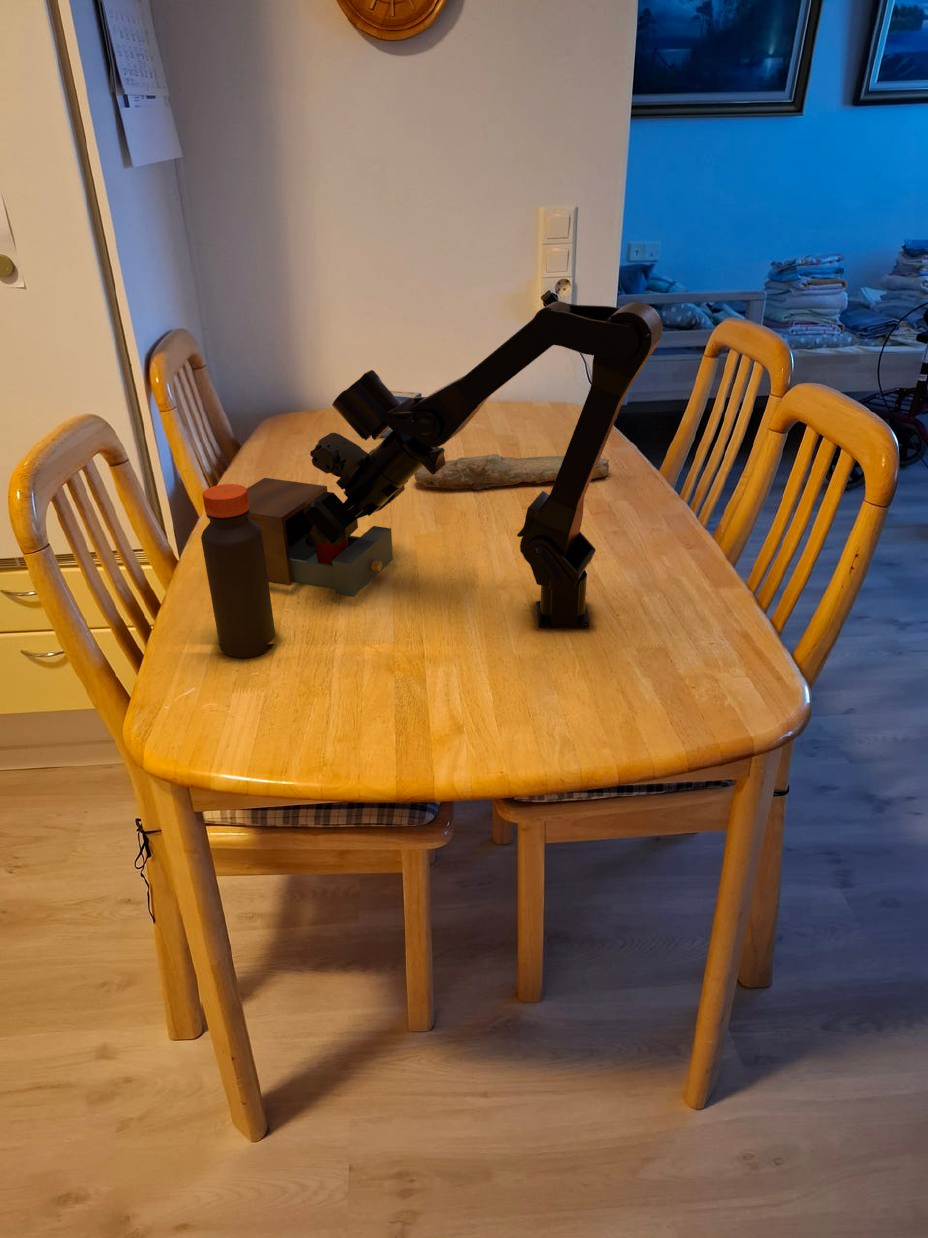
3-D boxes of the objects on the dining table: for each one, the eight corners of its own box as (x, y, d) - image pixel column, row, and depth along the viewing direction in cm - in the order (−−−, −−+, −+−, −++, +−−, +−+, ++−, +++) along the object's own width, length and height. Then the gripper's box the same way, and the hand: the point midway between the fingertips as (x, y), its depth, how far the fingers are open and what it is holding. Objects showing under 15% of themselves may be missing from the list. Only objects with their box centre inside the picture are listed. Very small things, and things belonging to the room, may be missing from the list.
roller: (347, 577, 123) (342, 520, 119) (316, 577, 123) (310, 520, 119) (351, 563, 127) (347, 507, 123) (321, 563, 127) (315, 507, 123)
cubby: (333, 557, 132) (327, 485, 126) (290, 593, 122) (281, 517, 116) (273, 547, 135) (264, 477, 130) (226, 581, 125) (215, 507, 120)
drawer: (399, 565, 128) (397, 529, 125) (360, 603, 118) (357, 564, 116) (318, 552, 132) (315, 517, 130) (274, 587, 123) (269, 550, 120)
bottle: (252, 625, 114) (230, 476, 104) (287, 642, 110) (268, 489, 101) (208, 647, 110) (181, 493, 100) (243, 665, 106) (218, 507, 96)
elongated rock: (615, 490, 157) (599, 474, 166) (618, 461, 155) (602, 446, 164) (417, 493, 152) (411, 476, 161) (417, 463, 150) (411, 447, 158)
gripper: (379, 398, 121) (315, 467, 130) (310, 439, 105) (242, 514, 114) (435, 460, 122) (367, 524, 131) (374, 509, 107) (302, 578, 116)
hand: (322, 533), depth 123 cm, fingers open, 7 cm apart
